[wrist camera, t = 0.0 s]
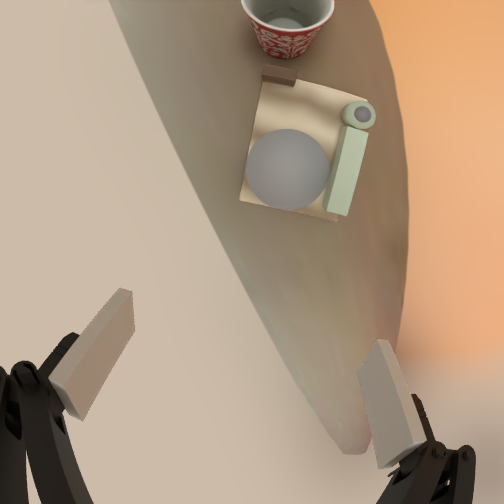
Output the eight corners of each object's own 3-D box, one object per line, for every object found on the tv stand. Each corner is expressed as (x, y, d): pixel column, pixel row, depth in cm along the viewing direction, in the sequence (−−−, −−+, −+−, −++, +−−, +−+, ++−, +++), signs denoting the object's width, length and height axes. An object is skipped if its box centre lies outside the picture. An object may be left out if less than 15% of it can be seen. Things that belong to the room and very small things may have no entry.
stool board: (265, 74, 31) (264, 63, 26) (363, 99, 31) (378, 94, 26) (240, 197, 39) (235, 207, 33) (334, 218, 39) (343, 231, 33)
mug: (280, 77, 31) (284, 47, 19) (237, 35, 29) (221, -6, 17) (346, 34, 27) (377, -3, 15) (304, -5, 25) (315, -53, 13)
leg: (343, 99, 30) (352, 95, 26) (368, 108, 30) (379, 105, 26) (319, 203, 36) (324, 212, 32) (343, 210, 36) (351, 218, 32)
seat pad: (254, 121, 32) (254, 121, 32) (336, 140, 32) (337, 140, 32) (239, 200, 37) (238, 200, 37) (317, 217, 37) (317, 218, 37)
